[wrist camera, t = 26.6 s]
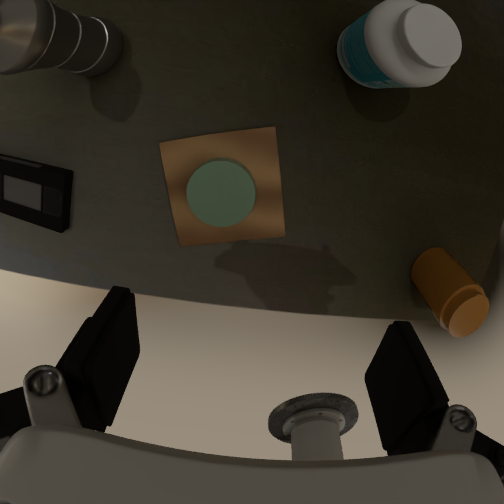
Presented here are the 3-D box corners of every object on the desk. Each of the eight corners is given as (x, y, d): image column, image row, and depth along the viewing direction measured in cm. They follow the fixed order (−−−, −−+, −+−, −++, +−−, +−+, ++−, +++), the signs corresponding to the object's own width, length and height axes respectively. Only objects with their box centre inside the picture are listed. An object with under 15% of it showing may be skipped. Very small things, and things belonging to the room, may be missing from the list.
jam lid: (199, 148, 31) (196, 151, 29) (265, 169, 32) (265, 173, 30) (182, 209, 34) (178, 216, 32) (244, 228, 35) (243, 236, 33)
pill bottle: (357, 99, 28) (417, 103, 16) (321, 38, 25) (360, 0, 13) (413, 74, 26) (490, 70, 14) (380, 14, 24) (443, -22, 12)
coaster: (285, 235, 35) (285, 236, 35) (180, 245, 36) (179, 246, 36) (275, 126, 30) (275, 126, 30) (159, 142, 31) (158, 143, 31)
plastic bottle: (96, 88, 28) (-46, 104, 10) (69, 49, 25) (-69, 44, 8) (140, 49, 26) (10, 15, 8) (110, 11, 24) (-18, -35, 6)
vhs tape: (-4, 152, 31) (-13, 156, 29) (73, 170, 32) (65, 175, 30) (-4, 202, 34) (-12, 207, 32) (69, 226, 36) (61, 233, 34)
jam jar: (442, 289, 38) (477, 338, 29) (405, 288, 38) (437, 342, 29) (456, 248, 35) (499, 292, 26) (418, 245, 35) (459, 292, 26)
